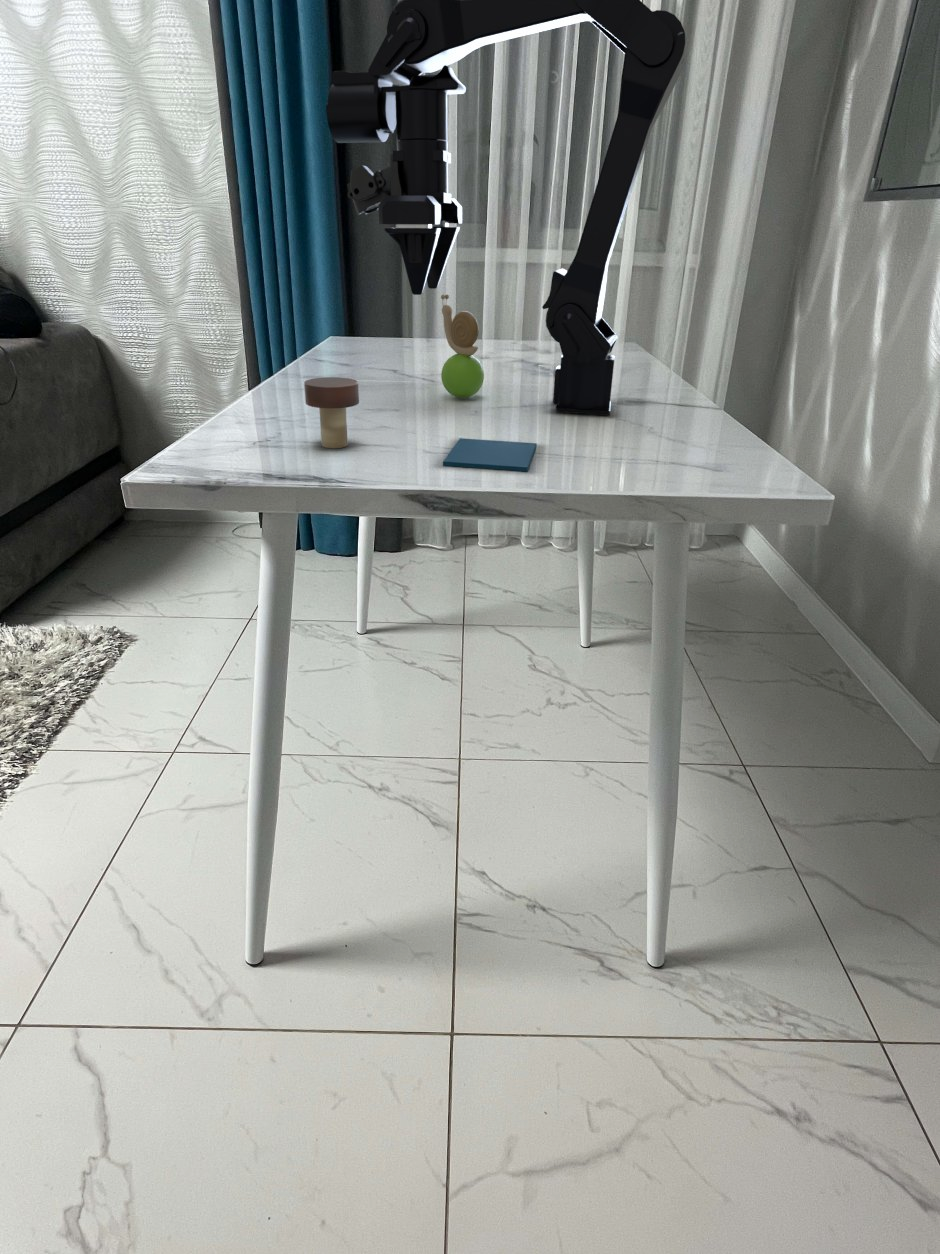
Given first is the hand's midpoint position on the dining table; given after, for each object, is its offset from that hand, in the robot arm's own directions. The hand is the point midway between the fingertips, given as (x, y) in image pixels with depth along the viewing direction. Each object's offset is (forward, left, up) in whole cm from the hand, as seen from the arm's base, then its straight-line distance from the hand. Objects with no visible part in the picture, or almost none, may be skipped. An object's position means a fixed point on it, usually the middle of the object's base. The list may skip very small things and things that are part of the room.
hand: (425, 291), depth 98 cm
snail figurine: (-4, -1, -13) cm, 13 cm away
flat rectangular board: (-12, +26, -13) cm, 31 cm away
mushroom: (+4, +26, -13) cm, 29 cm away
